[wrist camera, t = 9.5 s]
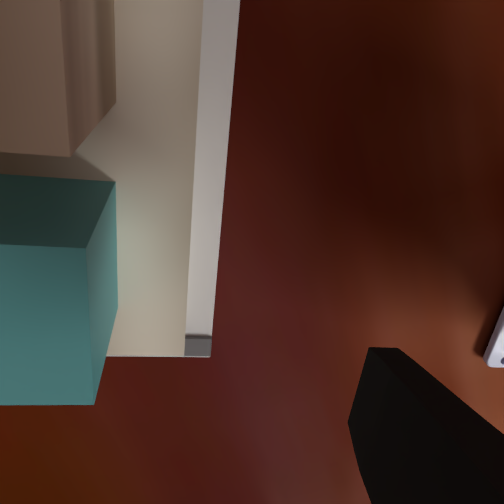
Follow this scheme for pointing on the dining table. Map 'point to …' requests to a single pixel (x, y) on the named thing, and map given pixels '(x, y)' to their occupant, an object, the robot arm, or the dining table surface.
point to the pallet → (113, 136)
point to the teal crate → (55, 288)
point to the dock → (209, 169)
